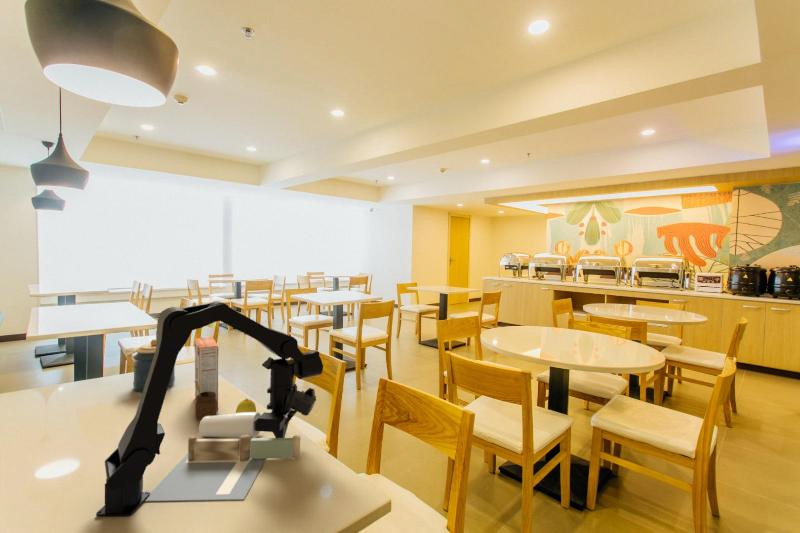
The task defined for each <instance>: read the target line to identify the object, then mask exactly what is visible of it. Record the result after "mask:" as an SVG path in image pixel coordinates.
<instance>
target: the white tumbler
mask: <svg viewBox="0 0 800 533" xmlns="http://www.w3.org/2000/svg"><path fill="white" fill-rule="evenodd" d="M261 415H262V414H261V413H260V412H259V411H256V412H241V413H236V412H235V413H233V412H232V413H227V414H226V413H225V414H224V413H223V414H218V415H217V414H216V415H214V416H205V417H203V418H202V420H200V422H199V425H198V433H199V436H200V437H203V438H221V439H240V436H242V435H244V434H249V435H250V439H252V438H258V436H259V434H260V433H261V431H255V430H254V422H255V421H256V420H257V419H258V418H259V417H260V416H261Z"/></svg>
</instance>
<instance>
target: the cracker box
mask: <svg viewBox="0 0 800 533" xmlns="http://www.w3.org/2000/svg"><path fill="white" fill-rule="evenodd" d="M194 373H195V374H194V378H195V379H194V382H195V381H197V382H198V385H199V388H200V393H202V392H208V391H212V392H215V393H216V397H215V398H216V400H217V410H218V409H219V345H218V343H217V341H216V340H215V338H214V337H212V336H211V337H198V338H195V339H194ZM211 380H212V381H213V382H212V381H211ZM215 380H216V381H215ZM210 381H211V382H210ZM216 382H217V383H216ZM209 383H210V384H209ZM213 384H214V385H213ZM216 384H217V385H216ZM211 385H212V386H211ZM214 386H215V387H214ZM208 387H209V388H208ZM194 389H195V390H194V392H195V393H194V396H195V400H196V401H197V395H198V394H199V393H198V391H197V389H196V385H195V384H194ZM213 390H214V391H213ZM196 401H195V402H196Z"/></svg>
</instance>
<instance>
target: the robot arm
mask: <svg viewBox="0 0 800 533" xmlns="http://www.w3.org/2000/svg"><path fill="white" fill-rule="evenodd" d="M216 322H222V323H224V324H225V325H227V326H229V327H231V328H233V329H235V330H236V331H238V332H240V333H242V334H244V335H247V336H248V337H250V338H253V339H254V340H256V341H257V342H258V343H260V345H262V346H263V347H264V348H265V349H267V350H268V351H269V352H270V353H272V354H273V355H275V356H277V357H279V358H276V359H274V358H273V357H270V356H269V357H268V358H267V359H266V360H265V361H264V362H263V363H262V364H261V366H262V367H264V368H265V369H266V370H270V381H269V382H270V385H269V387H268V388H267V389H266V393H267V394H269V403H267V405H266V410H270V411H271V412H263V413H262V414H261V416H260V417H259V418H258V419H257V420H256V421H255V422H254V430H255V431H260V432H268V433H272V434H273V436H274V438H286V434H287V430H288V426H289V424H290V421H291V420H292V418H293V417H294V416H295V415H296V414H297V413H299V414H301V415H302V416H309V415H310V413H311V411H313V408H314V405H315V402H316V401H317V396H316V394H315V393H316V390H315V389H314V388H311V387H309V388H307V389H306V390H305V391H304V390H301V391H300V390H298V385H297V383H295V382H294V381H295V380H294V379H295V377H297V378H298V379H299V380H303V379H304V380H305V379H309V378H313V377H318V376H321V375H323V371H324V364H323V362H322V358H321V356H320V351H318V350H316V349H315V350H314V349H313V350H310V351H307V352H302V351H301V350H300V348H299V344H298V340H297V339H296V338H295V337H294V336H291V335H289V334H287V333H285V332H282V331H279V330H276V329H272V328H269V327H267V326H264V325H262V324H261V323H259V322H257V321H255V320H253V319H252V318H250V317H248V316H247V315H244V314H242V313H240V312H239V311H237V310H235V309H233V308H232V307H230V306H229V305H228V304H227V303H224V302H222V301H219V300H216V301H215V300H213V301H212V302H209V303H204V304H198V305H191V306H186V307H183V308H182V307H178V306H170V307H168V308H166V309H164V310H162V311H161V312H160V313H159V314H158V317H157V323H156V335H155V339H156V351H155V354H154V357H153V361H152V364H151V367H150V370H149V373H148V377H147V380H146V383H145V386H144V389H143V392H141V397H140V400H139V402H138V406H137V409H136V412H135V415H134V417H133V419H132V420H131V421H130V423H128V426H127V427H125V428H126V429H125V430H124V432H123V435H122V436H121V438H120V440H119V442H118V445H117V448H116V449H115V450H114V451H113V452H112V453H111V454H110V455H109V456H108V457H107V458H106V459H105V460H104V466H105V467H104V468H105V474H106V475H105V476H106V479H105V483H104V505H102V507H101V508H100V509H99V510H98V511H97V512H96V513H95V514H96V515H95V516H96V517H122V516H123V517H128V516H132V515H133V514H134V513H135V511H137V510H138V508H139V507H140V506H141V505H142V504H143V503H145V502H144V501H145V500H146V499H147V497H148V496H149V495H150V493H151V491H143V489H144V474H145V472H146V469H147V467H148V466H149V465H152V463H153V462H154V460H155V458H156V455H160V454H161V452H160V449H161V444H162V442H163V441H164V438H165V434H166V432H165V431H164V428H163V426H162V424H161V423H159V418H160V414H161V412H162V409H163V405H164V403H165V402H164V401H165V399H166V396H167V392H168V388H169V387H168V385H169V382H170V379H171V376H172V372H173V369H174V366H175V365H176V362H177V359H178V355H179V353H180V352H181V350H182V349H183V347H184V346H185V345H186V343H187V341H188V340H189V338H190V336H191V334H192V332H193V331H195V330H198V329H202V328H204V327H207V326H209V325H210V324H211V325H212V324H213V323H216ZM290 358H291V359H290ZM287 359H288V360H287Z"/></svg>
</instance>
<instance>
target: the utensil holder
mask: <svg viewBox="0 0 800 533" xmlns="http://www.w3.org/2000/svg"><path fill="white" fill-rule="evenodd" d="M211 381H212V380H211ZM211 381H210V382H211ZM215 381H216V380H215ZM212 382H213V381H212ZM216 383H217V382H216ZM209 384H210V383H209ZM195 385H196V389H197V391H198V393H199V394H198V395H197V401H195V406H194V407H195V409H194V411H195V412H194V413H195V414H194V415H195V419H196V420H197V421H201V420H202V418H203V417H205V416H214V415H217V414H218V409H217V400H216V398H215V397H216V393H215V392H212V391H208V392H202V393H200V388H199V385H198V382H197V381H195V380H194V386H195ZM213 385H214V384H213ZM216 385H217V384H216ZM211 386H212V385H211ZM214 387H215V386H214ZM208 388H209V387H208ZM213 391H214V390H213Z"/></svg>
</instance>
